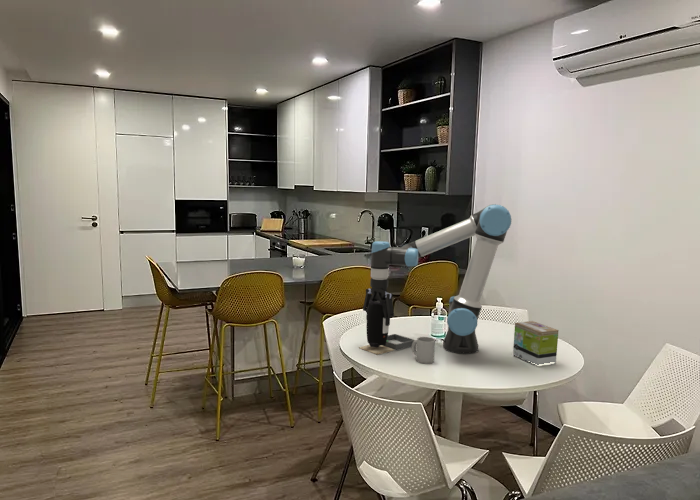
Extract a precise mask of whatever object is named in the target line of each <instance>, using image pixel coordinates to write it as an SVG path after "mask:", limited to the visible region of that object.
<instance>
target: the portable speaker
mask: <svg viewBox="0 0 700 500" xmlns="http://www.w3.org/2000/svg"><path fill="white" fill-rule="evenodd" d="M383 303H386V301H385V302H379V300H376V301H372V300H369V306H368V311H367V313H366V314H367V319H366V338H367V340H366V341H367V344H368V345H370V346H371V347H379V346H380V345H384V346H386V341H387V336H388V335H389V332H388V333H383V318H384V317H385V316H384V313H383Z"/></svg>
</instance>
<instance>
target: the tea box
mask: <svg viewBox="0 0 700 500" xmlns="http://www.w3.org/2000/svg"><path fill="white" fill-rule="evenodd" d="M513 335H514V336H513V347H512V349H513V350H512V356H513V355H515V356H514V357H516V356H518V357H520V358H522V359H521V360H523V359H525V360H527V361H530V362H532V363H535V364H537V365H539V364H544V363H550V362H556V363H557V355H558V341H559V329H557V328H553V327H550V326H548V325H545V324H542V323H539V322H537V321H534V320H530V321H529V320H528V321H520V322H515V323H514V333H513ZM518 357H517V358H518ZM520 358H519V359H520ZM525 360H524V361H525ZM527 361H526V362H527Z"/></svg>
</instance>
